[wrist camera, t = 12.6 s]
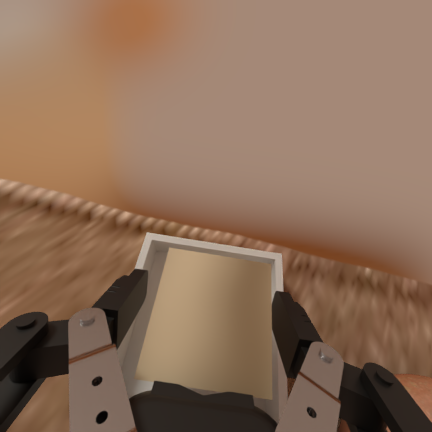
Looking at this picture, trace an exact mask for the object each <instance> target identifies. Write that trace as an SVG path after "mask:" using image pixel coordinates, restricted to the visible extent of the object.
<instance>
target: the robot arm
mask: <svg viewBox="0 0 432 432" xmlns="http://www.w3.org/2000/svg"><path fill="white" fill-rule="evenodd" d="M147 284H148V270H143V269H134V271H133V272H132V273H131V274H130V275H129V276H126V275H124V276H122V277H121V278H119V279H117V280H116V281H115V282H114V283H113V284H112V286H110V288H109V289H108V290H107V291H106V292H105V293H104V294H103V295H102V296H101V298H100V299H99V300H98V301H97V302H96V303H95V304H94V305H93V306H92V307H91V308H87V309H84V310H81V311H79V312H77V313H76V314H74V315H73V316H72V317H71V318H70V319H69V320H61V321H51V322H48V316H47V315H46V314H45V313H43V312H31V313H27V314H23V315H21V316H18V317H16V318H14V319H12V320H11V321H9V322H8V323H7V324H6V325H4V326H3V327H2V328H1V329H0V432H6V431H7V429H8V428H9V427H10V425H11V424H12V423H13V421H14V420H15V419H16V417H17V416H18V415H19V413H20V412H21V411H22V409H23V408H24V407H25V406H26V404H27V403H28V402H29V400H30V399H31V398H32V396H33V395H34V394H35V392H36V391H37V390H38V388H39V387H40V386H41V384H42V383H43V382H44V380H45V379H46V378H47V377H53V376H58V375H64V374H69V417H70V432H337V425H338V418H341V419H343V420H345V421H346V423H347V425H348V427H349V430H350V432H388V431H387V430H386V428H387V426H388V428H389V430H390V431H391V432H432V422H431V421H430V420H429V418H428V417H427V416H426V415H425V413H424V412H423V411H422V409H421V408H420V407H419V406H418V404H417V403H416V402H415V400H414V399H413V398H412V397H411V395H410V394H409V393H408V391H407V390H406V389H405V388H404V386H403V385H402V384H401V382H400V381H399V380H398V379H397V378H396V377H395V376H394V375H393V374H392V373H391V372H389V371H388V370H387V369H385V368H383V367H382V366H380V365H377V364H375V363H366V364H365V365H364V367H363V369H359V368H357V367H355V366H352V365H350V364H347V363H345V362H343V360H342V358H341V356H340V355H339V354H338V352H337V351H336V350H334V349H333V348H332V347H330V346H329V345H327V344H325V343H323V341H322V339H321V338H320V336H319V334H318V332H317V331H316V329H315V327H314V325H313V324H312V323H311V320H310V319H309V317H308V315H307V313H306V312H305V310H304V308H302V307H301V306H300V305H299V304H298V303H297V302H294V301H293V299H292V297H291V295H290V293H288V292H282V291H276V292H275V294H274V298H273V301H272V331H273V334H274V337H275V341H276V344H277V347H278V350H279V354H280V357H281V360H282V363H283V366H284V370H285V373H286V376H287V377H288V378H295V379H296V381H295V383H294V386H293V388H292V391H291V393H290V396H289V398H288V400H287V403H286V405H285V408H284V410H283V413H282V415H281V418H280V420H279V423H278V424H277V422H276V421H275V420H274V419H273V418H272V417H271V416H270V415H268V414H267V413H266V412H264V411H263V410H262V409H260V408H258V407H256V406H254V400H253V395H249V394H242V393H236V392H222V393H216V394H210V395H201V394H199V393H197V392H195V391H192V390H190V389H188V388H186V387H184V386H182V385H179V384H174V383H167V382H161V381H154V384H153V387H152V390H150V391H145V392H141V393H139V394H136V395H134V396H132V397H131V398H128V394H127V390H126V386H125V382H124V378H123V373H122V369H121V365H120V361H119V357H118V353H117V350H118V348H119V346H120V344H121V342H122V341H123V339H124V337H125V335H126V334H127V332H128V330H129V328H130V326H131V325H132V323H133V321H134V319H135V317H136V316H137V314H138V312H139V310H140V308H141V307H142V305H143V303H144V301H145V298H146V294H147Z"/></svg>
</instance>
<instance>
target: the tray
mask: <svg viewBox="0 0 432 432" xmlns="http://www.w3.org/2000/svg"><path fill="white" fill-rule="evenodd" d="M169 247H170V248H176V249H182V250H188V251H194V252H200V253H207V254H213V255H219V256H225V257H231V258H237V259H244V260H250V261H256V262H262V263H268V264H271V291H272V301H273V298H274V294H275V292H276V291H282V292H283V270H282V254H279V253H273V252H266V251H260V250H254V249H247V248H241V247H235V246H229V245H222V244H216V243H210V242H203V241H197V240H191V239H185V238H178V237H172V236H166V235H159V234H153V233H147V234H146V237H145V240H144V243H143V246H142V249H141V252H140V255H139V258H138V261H137V264H136V266H135V269H143V270H148V284H147V294H146V298H145V301H144V303H143V305H142V307H141V308H140V310H139V312H138V314H137V316H136V317H135V319H134V321H133V323H132V325H131V326H130V328H129V330H128V332H127V334H126V335H125V337H124V339H123V341H122V342H121V344H120V346H119V348H118V350H117V353H118V357H119V361H120V365H121V369H122V373H123V378H124V382H125V386H126V390H127V394H128V398H131V397H132V396H134V395H136V394H139V393H141V392H145V391H150V390H152V387H153V384H154V382H150V381H143V380H137V379H134V376H135V373H136V369H137V365H138V361H139V358H140V354H141V350H142V347H143V343H144V339H145V336H146V332H147V328H148V324H149V321H150V317H151V313H152V310H153V306H154V302H155V299H156V295H157V291H158V288H159V284H160V280H161V276H162V273H163V269H164V265H165V262H166V258H167V254H168V251H169ZM186 388H188V389H190V390H192V391H195V392H197V393H199V394H201V395H210V394H216V393H222V392H216V391H209V390H203V389H196V388H189V387H186ZM253 400H254V406H256V407H258V408H260V409H262V410H263V411H264V412H266V413H267V414H268V415H270V416H271V417H272V418H273V419H274V420H275V421H276V422H277V424H278V423H279V420H280V418H281V415H282V413H283V410H284V408H285V405H286V403H287V400H288V392H287V376H286V373H285V370H284V366H283V363H282V360H281V357H280V354H279V350H278V347H277V344H276V341H275V337H274V334H273V331H272V400H269V399H262V398H255V397H253Z"/></svg>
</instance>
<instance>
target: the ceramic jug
mask: <svg viewBox="0 0 432 432" xmlns="http://www.w3.org/2000/svg"><path fill="white" fill-rule="evenodd" d="M394 376H395V377H396V378H397V379H398V380H399V381H400V382H401V384H402V385H403V386H404V388H405V389H406V390H407V391H408V393H409V394H410V395H411V397H412V398H413V399H414V400H415V402H416V403H417V404H418V406H419V407H420V408H421V409H422V411H423V412H424V413H425V415H426V416H427V417H428V418H429V420H430V421H431V422H432V378H429V377H425V376H420V375H413V374H396V375H394ZM386 430H387V431H388V432H391V431H390V430H389V428H388V426H387V428H386ZM338 432H350V430H349V427H348V425H347V423H346V421H345V420H343V419H341V422H340V425H339V429H338Z"/></svg>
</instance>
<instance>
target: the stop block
mask: <svg viewBox="0 0 432 432" xmlns="http://www.w3.org/2000/svg"><path fill="white" fill-rule="evenodd" d="M134 379H137V380H143V381H150V382H154V381H161V382H167V383H174V384H179V385H182V386H184V387H189V388H196V389H203V390H209V391H216V392H236V393H242V394H249V395H253V397H255V398H262V399H269V400H272V291H271V264H268V263H262V262H256V261H250V260H244V259H237V258H231V257H225V256H219V255H213V254H207V253H200V252H194V251H188V250H182V249H176V248H170V247H169V251H168V254H167V258H166V262H165V265H164V269H163V273H162V276H161V280H160V284H159V288H158V291H157V295H156V299H155V302H154V306H153V310H152V313H151V317H150V321H149V324H148V328H147V332H146V336H145V339H144V343H143V347H142V350H141V354H140V358H139V361H138V365H137V369H136V373H135V376H134Z"/></svg>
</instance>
